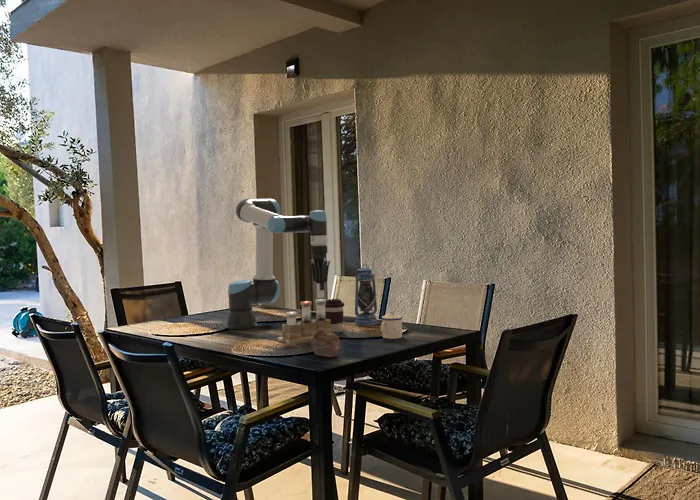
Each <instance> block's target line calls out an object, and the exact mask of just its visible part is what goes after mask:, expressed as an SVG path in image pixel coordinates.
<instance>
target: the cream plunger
mask: <svg viewBox="0 0 700 500" xmlns="http://www.w3.org/2000/svg"><path fill="white" fill-rule="evenodd" d="M284 314H285V317H286V324H287V325H288V326H292V325H296V323H297V316H298V311H287V312H285V313H284Z"/></svg>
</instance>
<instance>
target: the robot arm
mask: <svg viewBox="0 0 700 500" xmlns="http://www.w3.org/2000/svg"><path fill="white" fill-rule="evenodd" d="M281 213H282V211H281V207H280V205H279V203H278V201H277V200H275V199H273V198H267V197H266V198H245V199H243V200H241V201H239V203H237V205H236V208H235V214H236V215H235V216H237V219H238V220H240V221H242V222H244V223H252V225H253V226H254V228H255V274H254V276H252V280H251V279H240V280H236V281H232V282H230V283H229V284H228V287H227V288H228V289H227V290H228V291H227V293H228V310H229V311H228V314H227V319H226V323H225V326H226V329H228V330H244V329H253V328H255V327H257V320H256V317H255V314H254V311H253V305H261V304H270V303H275V302H276V301H277V300H279V297H280V293H281V285H280V283H279V281H278V280H277V279H276V276H275V275H274V274H273V273H274V270H273V267H274V264H273V263H274V260H273V258H274V256H273V255H274V252H273V250H274V237H273V236H274V234H289V233H309V235H310V254H311V255H312V258H311V260H310V259H309V261H308V262H309V265H310V269H311V275H312V281H313V282H315V283H316V297H317V299H320V298H322V299H323V298H325V283H326V282H328V275H329V267H330V264H331V260H328V259H327V255H326V254H328V250H329V249H328V227H327V225H328V223H327V221H328V219H327V212H326V210H311V211H310V212H309V215H289V216H288V215H282V214H281Z"/></svg>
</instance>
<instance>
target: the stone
mask: <svg viewBox="0 0 700 500" xmlns="http://www.w3.org/2000/svg"><path fill="white" fill-rule="evenodd" d="M334 334H335V333H334ZM334 334H331V335H327V334H326V333H324V331H322V330H320V331H319V332H317V333H316V334H315V335H314V337H313V339H312V341H311V345H312V350H313V353H314V354H315V355H317V356H321V357H324V358H326V357H327V358H332V357H333V358H334V357H335V356H337V355H338V353H339V350H340V347H341V342H340V337H339V336H338V335H337V334H336V335H334Z"/></svg>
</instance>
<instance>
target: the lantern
mask: <svg viewBox="0 0 700 500" xmlns="http://www.w3.org/2000/svg"><path fill="white" fill-rule="evenodd" d="M365 266H366V267H365ZM364 267H365V268H364ZM357 271H358V273H357V275H356V276H355V286H354V287H355V290H354V292H355V293H354V295H355V298H354V315H355V322H353V323H354V325H355V326H363V325H366V326H375V325H378V324H380V323H379V320H378V319H377V315H376V314H377V312H378V303H377V292H376V291H377V290H376V278H375V277H376V275H375V274H374V273H373V272H372V271H373V268H370V267H368V265H367V264H366V263H364V264H362V267H361V268H358V269H357ZM358 310H359V311H360V312H361V313H359V311H358Z"/></svg>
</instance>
